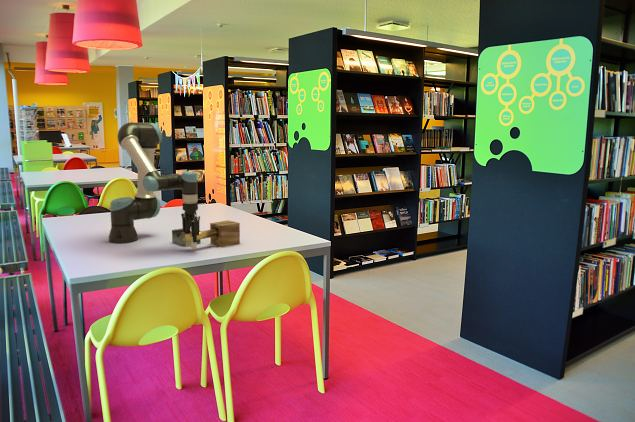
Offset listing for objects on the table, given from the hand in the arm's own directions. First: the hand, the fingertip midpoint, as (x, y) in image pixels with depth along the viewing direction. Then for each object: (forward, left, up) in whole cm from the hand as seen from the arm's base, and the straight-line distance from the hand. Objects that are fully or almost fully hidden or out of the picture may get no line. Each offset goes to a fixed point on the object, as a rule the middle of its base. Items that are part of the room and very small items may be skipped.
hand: (191, 247), depth 254 cm
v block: (-16, +7, -2) cm, 17 cm away
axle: (0, +6, +3) cm, 7 cm away
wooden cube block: (0, +21, -2) cm, 21 cm away
